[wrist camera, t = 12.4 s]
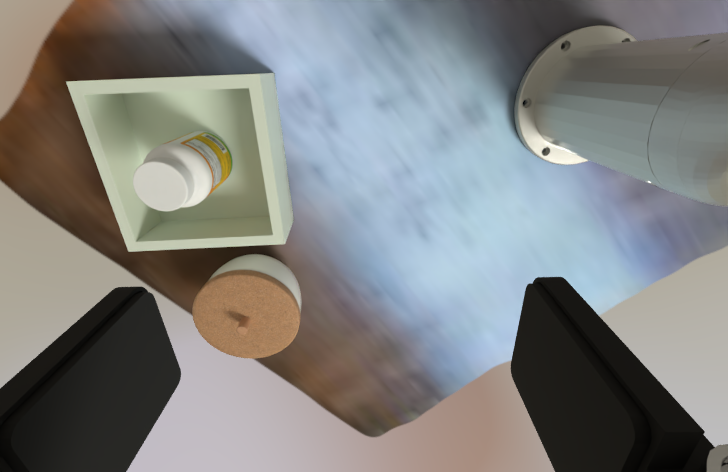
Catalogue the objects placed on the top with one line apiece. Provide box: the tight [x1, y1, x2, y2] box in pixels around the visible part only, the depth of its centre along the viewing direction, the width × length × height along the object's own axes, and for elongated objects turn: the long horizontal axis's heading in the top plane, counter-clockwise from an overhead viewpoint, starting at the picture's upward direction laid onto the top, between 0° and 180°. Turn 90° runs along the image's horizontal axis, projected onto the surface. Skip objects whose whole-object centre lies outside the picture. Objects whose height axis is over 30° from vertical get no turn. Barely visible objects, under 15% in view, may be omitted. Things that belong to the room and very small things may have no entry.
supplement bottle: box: [133, 131, 233, 211], centre depth 31 cm, size 5×5×10 cm
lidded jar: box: [192, 254, 301, 358], centre depth 38 cm, size 11×11×9 cm
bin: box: [66, 73, 294, 252], centre depth 33 cm, size 15×15×6 cm
